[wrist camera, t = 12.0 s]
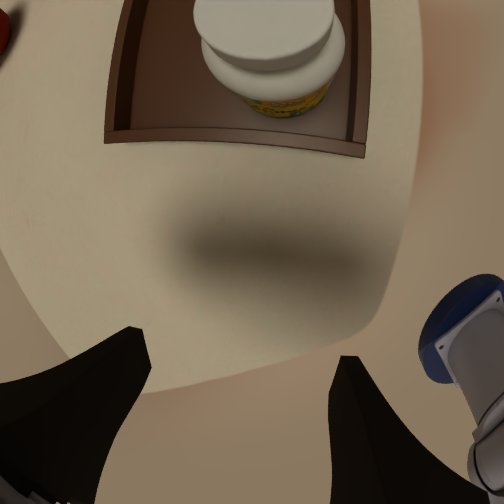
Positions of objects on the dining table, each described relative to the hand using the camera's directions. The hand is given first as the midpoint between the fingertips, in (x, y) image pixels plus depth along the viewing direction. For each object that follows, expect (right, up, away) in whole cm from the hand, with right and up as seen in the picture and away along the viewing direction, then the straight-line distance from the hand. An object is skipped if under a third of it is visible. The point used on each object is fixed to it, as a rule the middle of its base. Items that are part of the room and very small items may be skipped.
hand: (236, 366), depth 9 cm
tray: (0, +25, +2) cm, 25 cm away
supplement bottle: (+2, +14, +5) cm, 15 cm away
